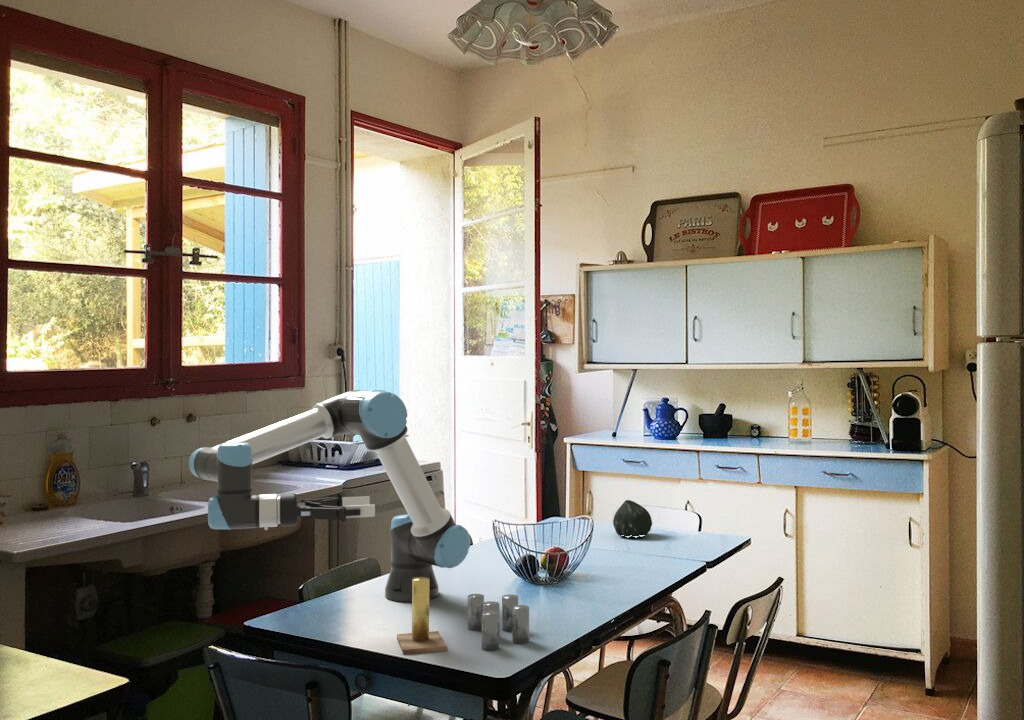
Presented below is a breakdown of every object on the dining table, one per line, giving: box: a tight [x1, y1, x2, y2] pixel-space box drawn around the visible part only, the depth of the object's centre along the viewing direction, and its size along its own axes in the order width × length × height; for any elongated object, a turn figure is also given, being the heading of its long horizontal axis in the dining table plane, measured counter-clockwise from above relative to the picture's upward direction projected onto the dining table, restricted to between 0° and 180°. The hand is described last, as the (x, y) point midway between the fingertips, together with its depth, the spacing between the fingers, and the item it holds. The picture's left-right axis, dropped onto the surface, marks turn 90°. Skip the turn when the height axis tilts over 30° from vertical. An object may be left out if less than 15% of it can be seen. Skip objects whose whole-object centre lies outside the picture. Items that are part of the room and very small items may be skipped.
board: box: [396, 630, 448, 655], centre depth 204 cm, size 12×10×1 cm
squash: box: [612, 499, 653, 536], centre depth 333 cm, size 14×15×15 cm
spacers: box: [467, 593, 530, 652], centre depth 210 cm, size 20×12×8 cm, turn 14°
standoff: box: [411, 577, 430, 641], centre depth 205 cm, size 4×4×14 cm
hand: (372, 506), depth 206 cm, fingers open, 13 cm apart
